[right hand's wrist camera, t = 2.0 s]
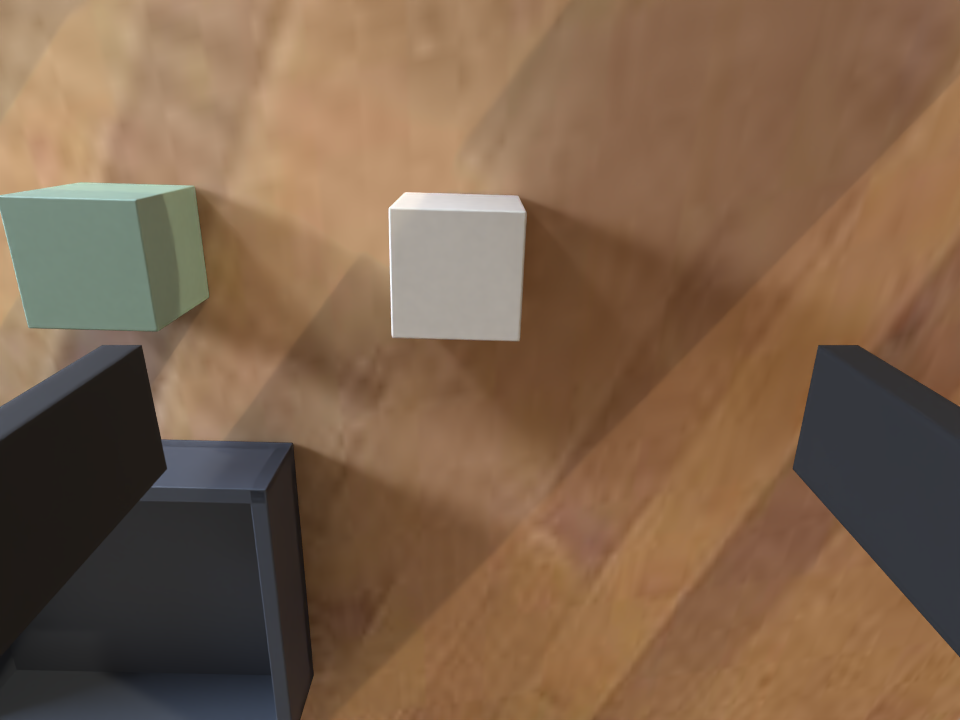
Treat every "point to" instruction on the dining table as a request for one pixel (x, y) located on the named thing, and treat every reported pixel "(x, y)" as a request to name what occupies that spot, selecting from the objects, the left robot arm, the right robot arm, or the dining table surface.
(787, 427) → the dining table surface
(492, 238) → the cream block
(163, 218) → the sage block
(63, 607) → the tray
